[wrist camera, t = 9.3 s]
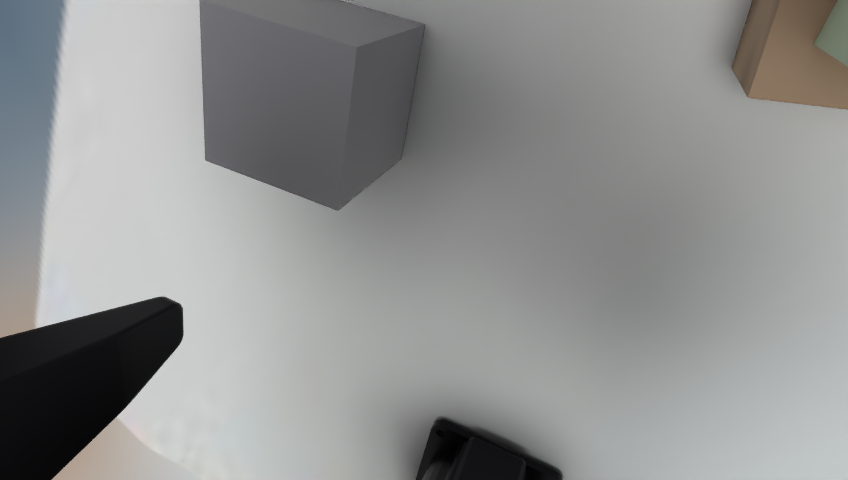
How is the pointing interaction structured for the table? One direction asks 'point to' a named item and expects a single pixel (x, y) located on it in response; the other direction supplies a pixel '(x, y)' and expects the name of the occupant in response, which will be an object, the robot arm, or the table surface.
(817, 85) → the walnut block
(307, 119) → the charcoal cube
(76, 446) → the robot arm
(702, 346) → the table surface
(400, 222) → the table surface
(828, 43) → the sage cube
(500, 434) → the table surface
